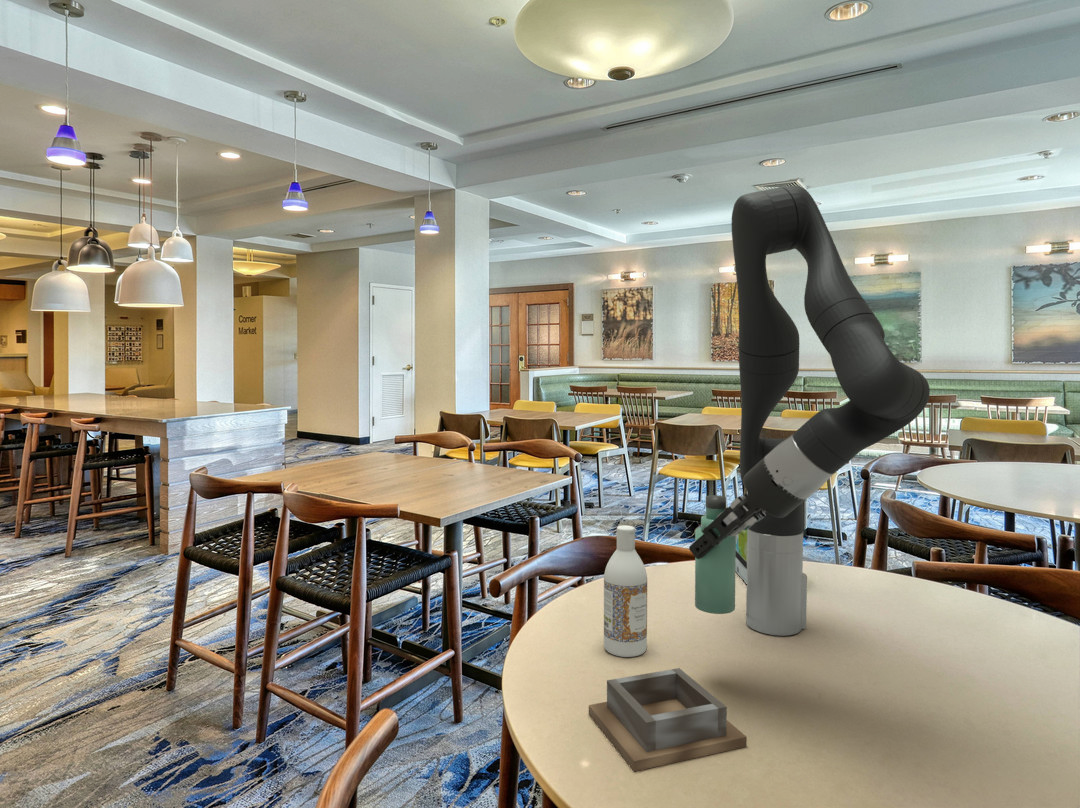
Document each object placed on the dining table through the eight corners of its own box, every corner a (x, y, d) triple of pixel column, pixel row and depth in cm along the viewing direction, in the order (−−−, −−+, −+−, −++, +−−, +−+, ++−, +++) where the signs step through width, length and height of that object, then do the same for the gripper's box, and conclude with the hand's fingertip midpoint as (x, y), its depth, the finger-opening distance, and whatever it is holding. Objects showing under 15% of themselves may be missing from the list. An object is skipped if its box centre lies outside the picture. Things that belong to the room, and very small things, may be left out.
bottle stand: (688, 695, 90) (688, 662, 90) (746, 746, 78) (747, 708, 77) (588, 713, 85) (588, 678, 85) (634, 771, 73) (634, 730, 73)
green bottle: (719, 597, 97) (720, 492, 96) (743, 610, 92) (744, 499, 91) (687, 602, 95) (688, 495, 94) (709, 616, 90) (710, 502, 89)
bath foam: (622, 662, 100) (623, 534, 99) (595, 646, 106) (595, 525, 105) (655, 651, 104) (656, 528, 103) (627, 636, 110) (627, 520, 109)
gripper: (785, 448, 93) (706, 518, 101) (748, 460, 82) (663, 538, 90) (823, 488, 90) (739, 557, 98) (791, 507, 79) (699, 583, 87)
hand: (703, 548), depth 94 cm, fingers closed on green bottle, 5 cm apart
